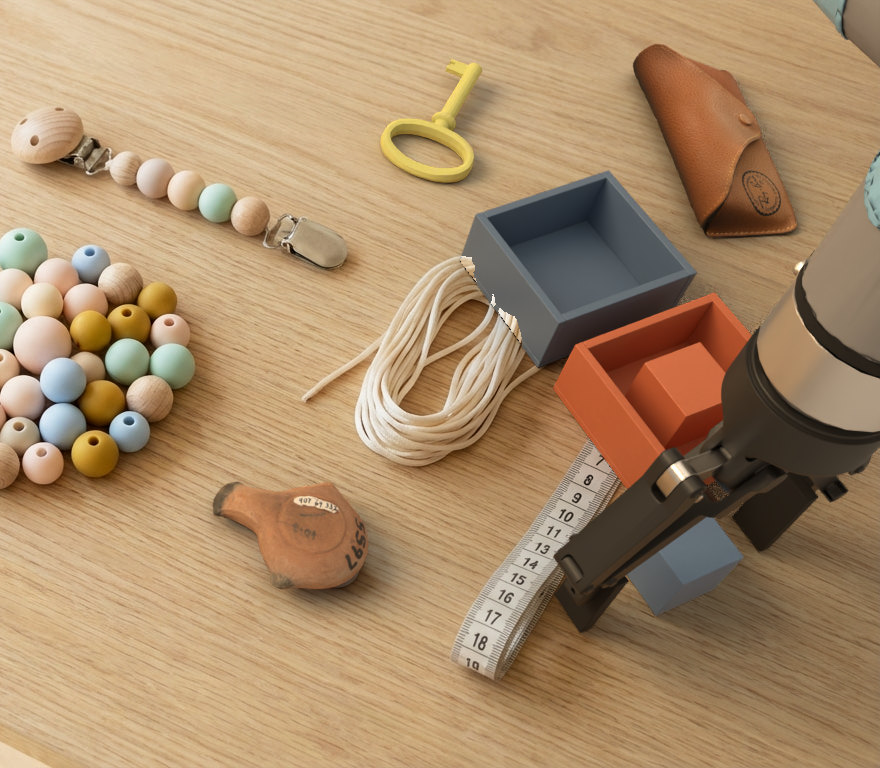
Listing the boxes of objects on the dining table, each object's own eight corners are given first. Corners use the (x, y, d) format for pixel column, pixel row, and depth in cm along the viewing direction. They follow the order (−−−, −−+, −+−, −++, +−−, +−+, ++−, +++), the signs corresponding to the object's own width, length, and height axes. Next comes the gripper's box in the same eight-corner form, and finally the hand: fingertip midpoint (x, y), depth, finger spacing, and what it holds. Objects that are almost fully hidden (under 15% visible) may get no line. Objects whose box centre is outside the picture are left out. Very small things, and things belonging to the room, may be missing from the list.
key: (478, 80, 99) (484, 59, 97) (469, 189, 92) (476, 169, 90) (390, 66, 99) (394, 45, 97) (374, 174, 92) (379, 154, 90)
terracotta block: (674, 380, 82) (700, 341, 78) (715, 431, 80) (743, 394, 76) (621, 401, 81) (644, 362, 77) (660, 453, 79) (686, 416, 75)
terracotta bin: (686, 336, 85) (714, 291, 81) (782, 452, 80) (818, 411, 75) (552, 388, 82) (575, 344, 78) (643, 512, 77) (672, 472, 72)
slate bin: (586, 217, 91) (608, 169, 87) (670, 317, 86) (697, 272, 81) (458, 261, 88) (475, 213, 84) (537, 368, 83) (559, 323, 78)
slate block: (669, 530, 76) (697, 495, 72) (714, 589, 74) (744, 557, 70) (612, 555, 75) (637, 521, 71) (655, 616, 73) (683, 584, 69)
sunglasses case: (808, 230, 90) (799, 176, 85) (711, 264, 93) (696, 215, 88) (726, 65, 100) (714, 9, 95) (640, 101, 103) (624, 48, 98)
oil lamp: (318, 470, 78) (203, 509, 76) (322, 430, 75) (202, 470, 73) (383, 580, 73) (261, 625, 71) (391, 542, 70) (263, 588, 68)
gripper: (970, 237, 62) (781, 454, 79) (565, 392, 55) (457, 592, 73) (1085, 347, 58) (861, 550, 76) (666, 529, 51) (527, 705, 69)
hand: (663, 571), depth 74 cm, fingers open, 13 cm apart
